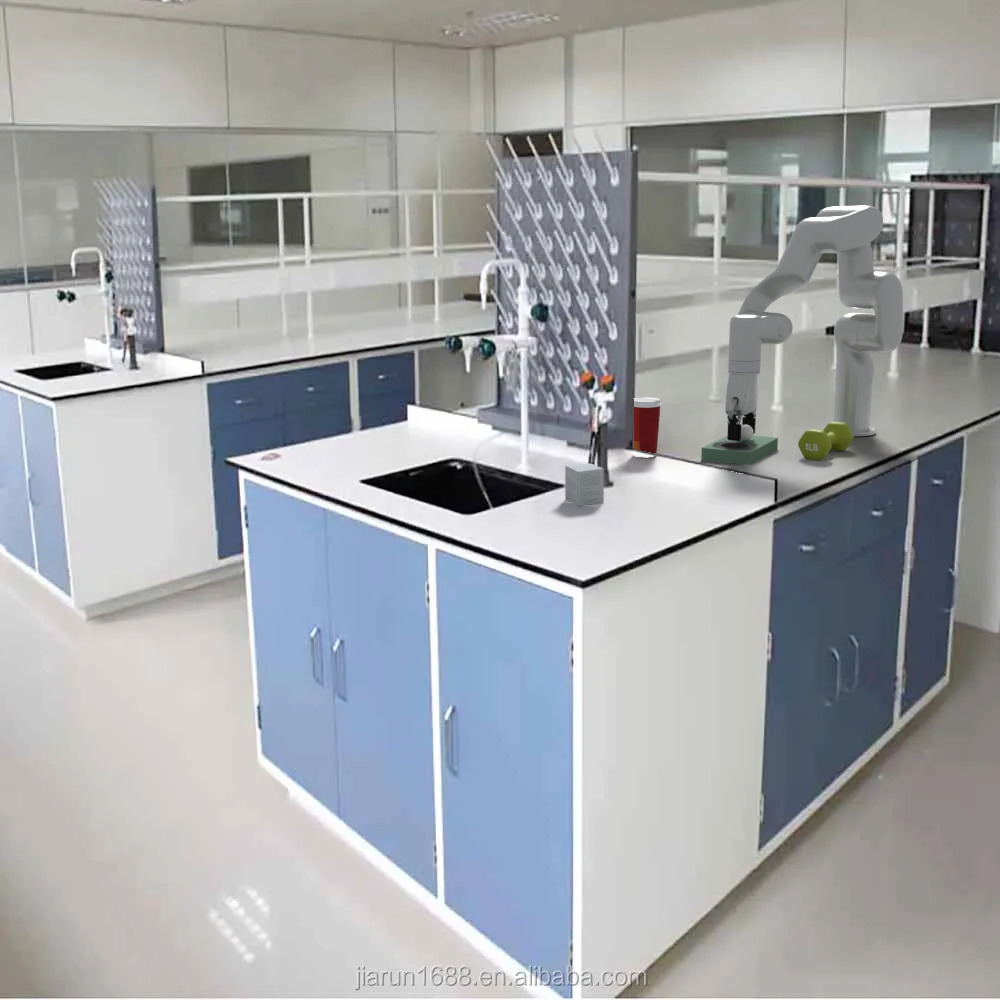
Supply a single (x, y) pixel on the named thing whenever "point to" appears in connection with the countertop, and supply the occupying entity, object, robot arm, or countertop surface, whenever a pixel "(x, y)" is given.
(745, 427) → the ball
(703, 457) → the putting mat
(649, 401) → the paper cup
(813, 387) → the countertop surface
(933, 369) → the countertop surface
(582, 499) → the product box
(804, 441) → the dumbbell
